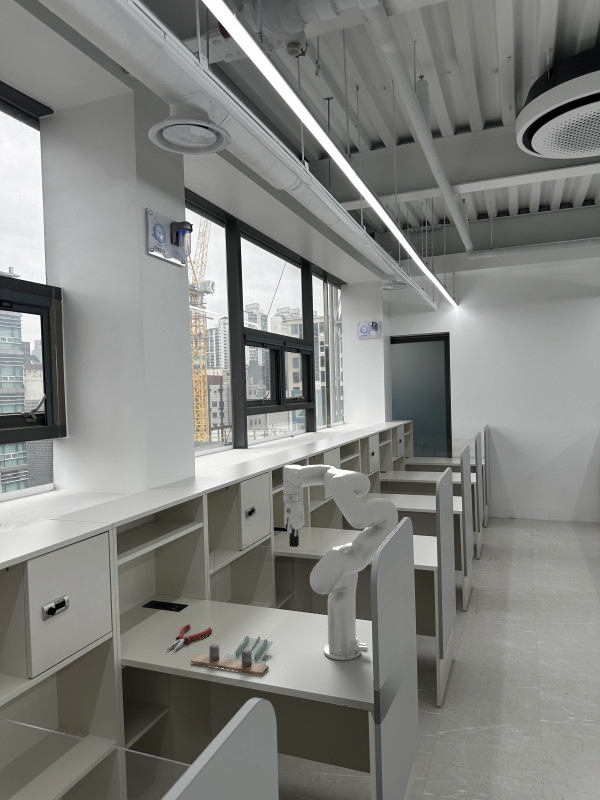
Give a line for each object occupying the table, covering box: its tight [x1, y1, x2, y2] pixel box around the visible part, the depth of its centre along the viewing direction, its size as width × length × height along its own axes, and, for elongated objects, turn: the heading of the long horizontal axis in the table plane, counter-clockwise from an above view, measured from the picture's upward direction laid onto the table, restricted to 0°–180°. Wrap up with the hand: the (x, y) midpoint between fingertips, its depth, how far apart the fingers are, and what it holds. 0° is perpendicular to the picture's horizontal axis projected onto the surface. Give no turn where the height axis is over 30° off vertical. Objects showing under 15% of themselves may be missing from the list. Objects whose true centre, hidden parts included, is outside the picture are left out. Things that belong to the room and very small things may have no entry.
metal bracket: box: [223, 635, 273, 665], centre depth 190 cm, size 14×6×15 cm
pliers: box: [166, 623, 213, 652], centre depth 204 cm, size 12×20×3 cm, turn 160°
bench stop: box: [190, 643, 270, 677], centre depth 183 cm, size 26×5×6 cm, turn 69°
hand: (294, 546), depth 211 cm, fingers closed
